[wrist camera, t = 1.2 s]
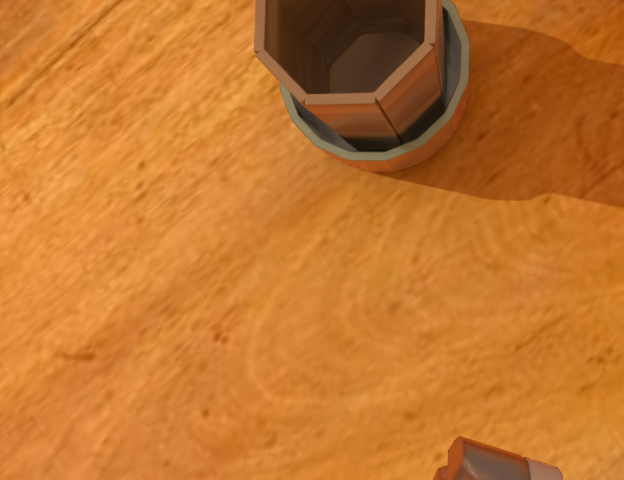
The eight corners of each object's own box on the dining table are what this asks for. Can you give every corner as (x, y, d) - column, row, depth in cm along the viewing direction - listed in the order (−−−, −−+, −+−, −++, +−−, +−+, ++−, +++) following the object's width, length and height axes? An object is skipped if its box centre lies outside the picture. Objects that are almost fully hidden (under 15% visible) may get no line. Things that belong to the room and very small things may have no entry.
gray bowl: (471, 5, 30) (473, -39, 25) (465, 173, 30) (465, 160, 26) (309, 15, 32) (282, -24, 28) (304, 172, 33) (276, 160, 28)
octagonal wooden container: (448, 25, 30) (441, -92, 19) (443, 150, 30) (433, 102, 20) (326, 31, 32) (257, -74, 21) (322, 150, 32) (251, 106, 21)
